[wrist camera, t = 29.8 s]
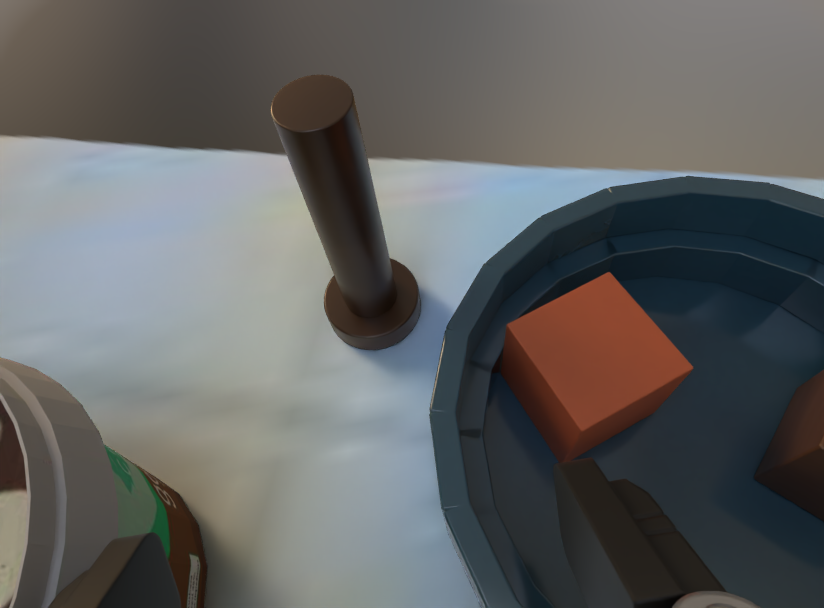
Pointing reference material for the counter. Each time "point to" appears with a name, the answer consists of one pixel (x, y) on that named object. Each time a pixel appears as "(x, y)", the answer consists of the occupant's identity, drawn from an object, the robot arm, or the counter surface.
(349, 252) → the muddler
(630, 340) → the block
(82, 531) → the food container
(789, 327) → the bowl
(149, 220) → the counter surface
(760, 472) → the block
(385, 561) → the counter surface
